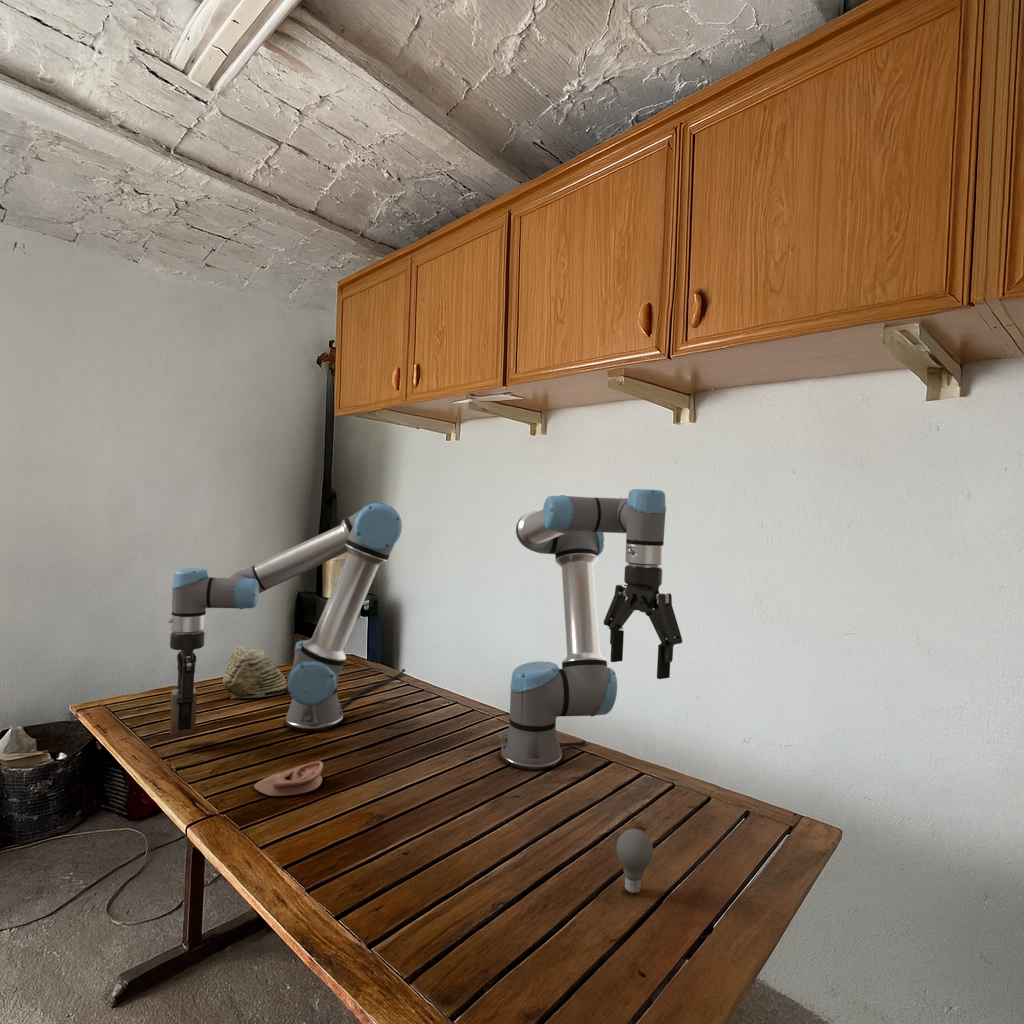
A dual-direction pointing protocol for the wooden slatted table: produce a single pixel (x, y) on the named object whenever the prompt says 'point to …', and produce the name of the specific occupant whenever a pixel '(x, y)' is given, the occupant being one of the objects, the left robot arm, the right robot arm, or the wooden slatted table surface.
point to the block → (175, 715)
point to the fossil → (252, 674)
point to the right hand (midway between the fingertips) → (638, 669)
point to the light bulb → (634, 857)
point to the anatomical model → (292, 781)
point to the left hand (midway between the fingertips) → (183, 725)
